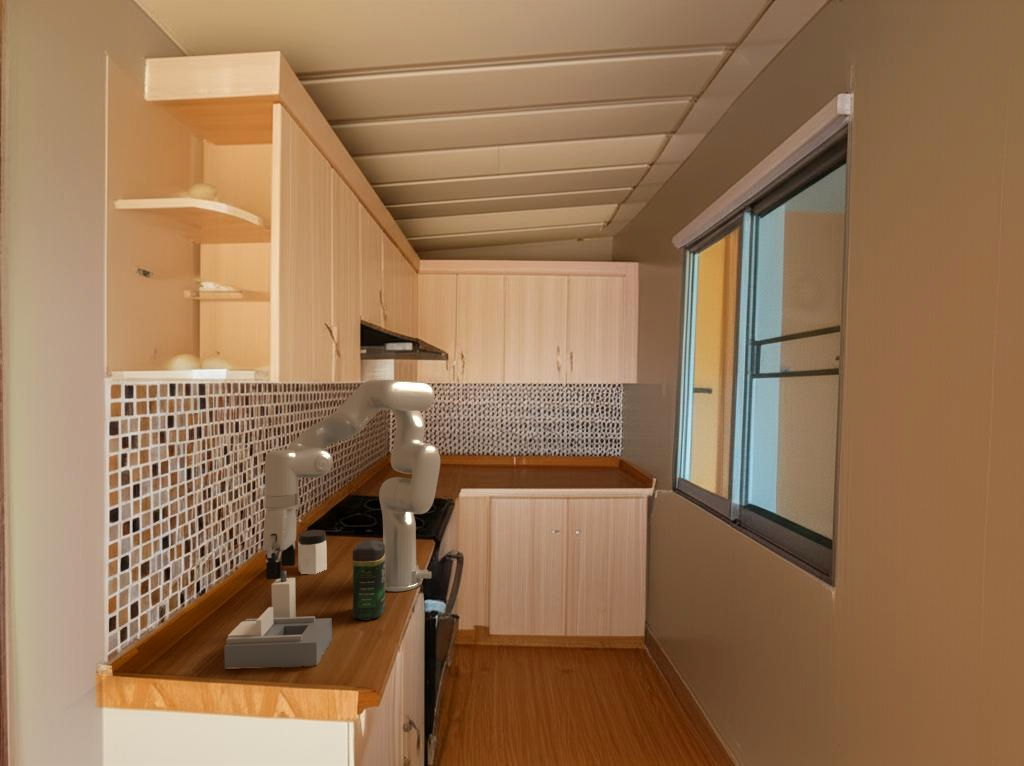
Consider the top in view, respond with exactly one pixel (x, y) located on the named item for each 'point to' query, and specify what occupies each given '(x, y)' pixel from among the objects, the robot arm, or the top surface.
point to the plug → (284, 597)
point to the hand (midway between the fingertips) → (281, 571)
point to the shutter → (254, 626)
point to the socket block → (282, 644)
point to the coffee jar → (368, 579)
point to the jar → (312, 552)
